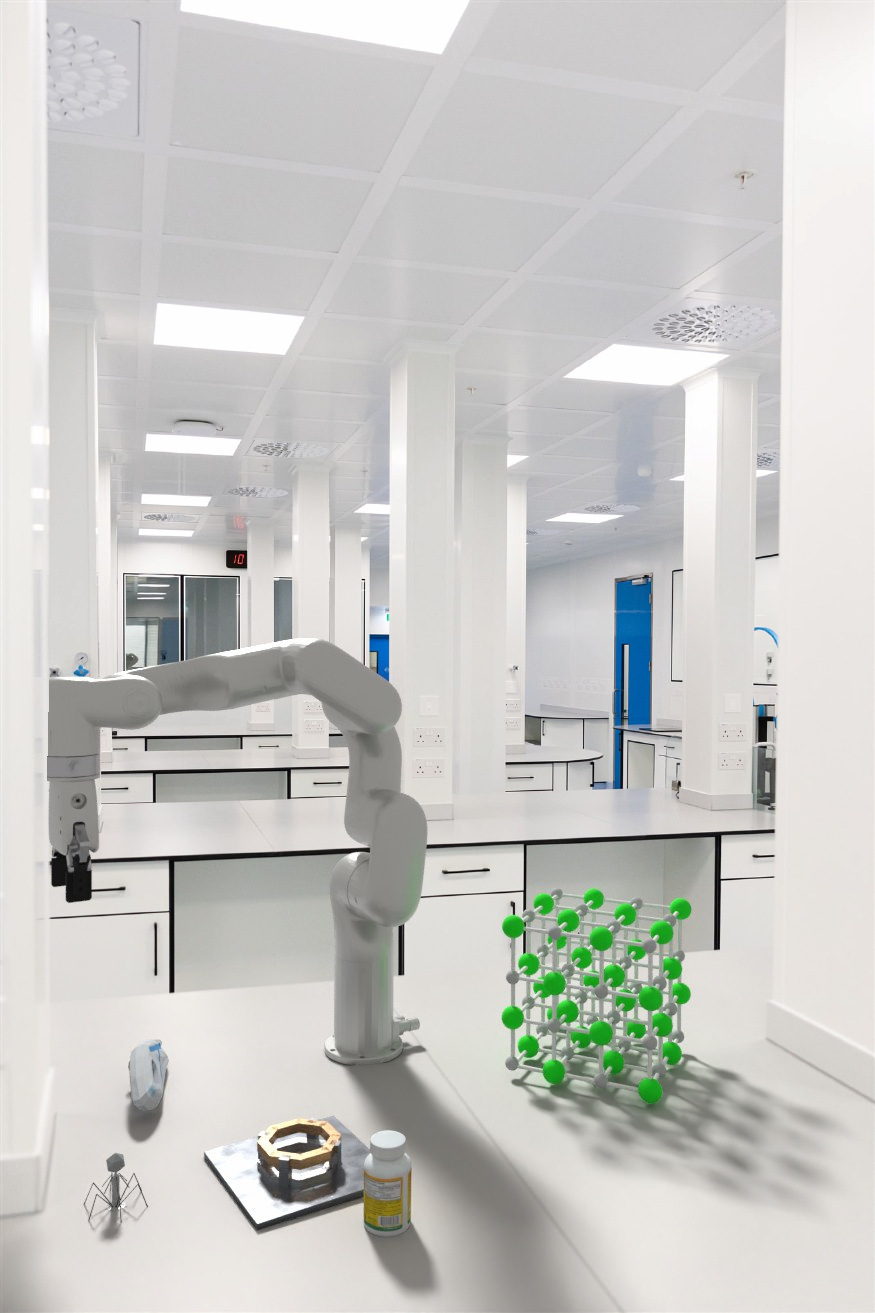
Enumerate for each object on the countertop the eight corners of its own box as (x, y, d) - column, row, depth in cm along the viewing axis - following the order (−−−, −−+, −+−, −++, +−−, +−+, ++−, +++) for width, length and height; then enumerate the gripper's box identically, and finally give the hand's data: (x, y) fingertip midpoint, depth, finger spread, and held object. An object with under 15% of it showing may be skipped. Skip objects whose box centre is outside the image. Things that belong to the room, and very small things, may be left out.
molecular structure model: (692, 1044, 159) (693, 896, 159) (659, 1110, 136) (660, 938, 136) (550, 1019, 169) (551, 880, 169) (497, 1077, 147) (498, 916, 146)
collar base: (333, 1123, 132) (333, 1092, 132) (399, 1185, 117) (399, 1151, 117) (204, 1159, 123) (204, 1126, 123) (257, 1233, 107) (257, 1195, 107)
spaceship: (141, 1071, 130) (109, 1090, 129) (164, 1113, 130) (134, 1132, 129) (152, 1015, 153) (125, 1031, 152) (172, 1051, 153) (146, 1067, 152)
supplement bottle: (388, 1245, 105) (388, 1156, 105) (353, 1226, 109) (353, 1140, 109) (421, 1222, 109) (421, 1137, 109) (386, 1204, 113) (386, 1122, 113)
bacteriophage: (88, 1238, 107) (88, 1177, 107) (78, 1201, 114) (78, 1144, 114) (153, 1221, 110) (153, 1162, 110) (140, 1186, 117) (140, 1130, 117)
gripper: (115, 773, 127) (114, 903, 128) (85, 759, 142) (85, 876, 142) (54, 776, 123) (54, 911, 124) (30, 762, 138) (30, 883, 138)
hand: (70, 893), depth 133 cm, fingers open, 9 cm apart
